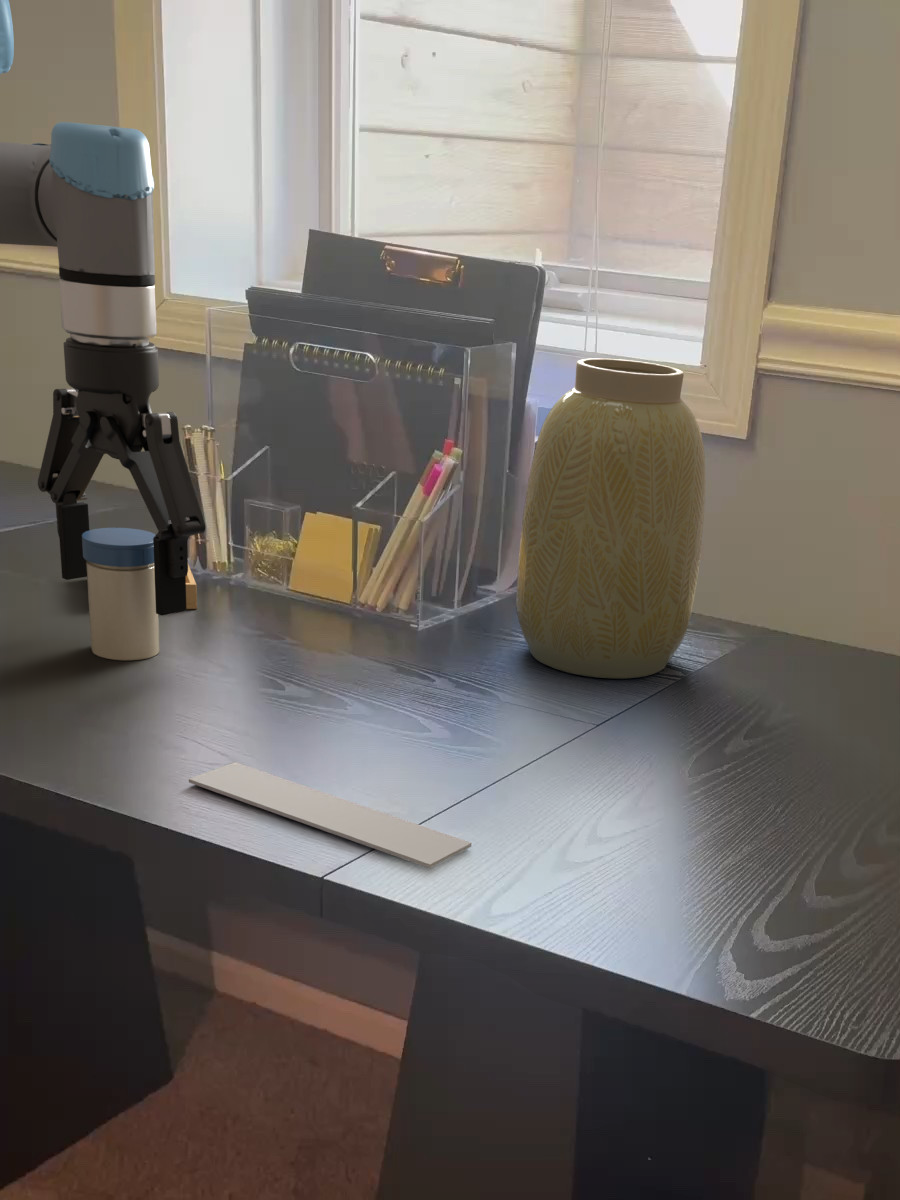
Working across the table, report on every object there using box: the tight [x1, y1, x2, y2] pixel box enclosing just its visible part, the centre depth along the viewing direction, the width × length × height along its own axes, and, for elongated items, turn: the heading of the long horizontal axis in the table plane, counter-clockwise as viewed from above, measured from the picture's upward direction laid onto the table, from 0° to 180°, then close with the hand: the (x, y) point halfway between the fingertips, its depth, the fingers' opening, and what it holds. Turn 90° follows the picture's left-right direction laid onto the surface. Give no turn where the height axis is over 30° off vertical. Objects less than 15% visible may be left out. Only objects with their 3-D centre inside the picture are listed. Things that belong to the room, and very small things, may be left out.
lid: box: [82, 527, 156, 567], centre depth 129 cm, size 7×6×2 cm
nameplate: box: [188, 761, 472, 869], centre depth 105 cm, size 22×1×5 cm
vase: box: [515, 358, 706, 680], centre depth 138 cm, size 17×17×27 cm
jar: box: [86, 561, 161, 661], centre depth 131 cm, size 6×6×10 cm
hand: (123, 594), depth 131 cm, fingers open, 13 cm apart
